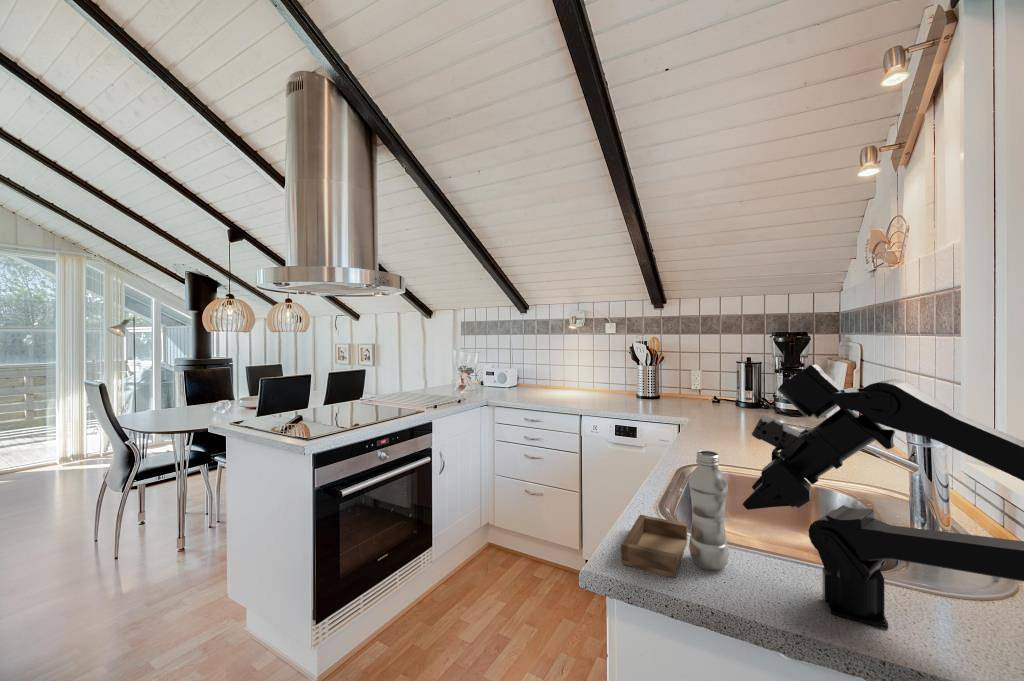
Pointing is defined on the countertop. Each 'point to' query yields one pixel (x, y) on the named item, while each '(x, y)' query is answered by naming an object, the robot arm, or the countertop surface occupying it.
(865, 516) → the robot arm
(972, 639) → the countertop surface
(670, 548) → the bottle stand
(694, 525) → the silver metal bottle
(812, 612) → the countertop surface
